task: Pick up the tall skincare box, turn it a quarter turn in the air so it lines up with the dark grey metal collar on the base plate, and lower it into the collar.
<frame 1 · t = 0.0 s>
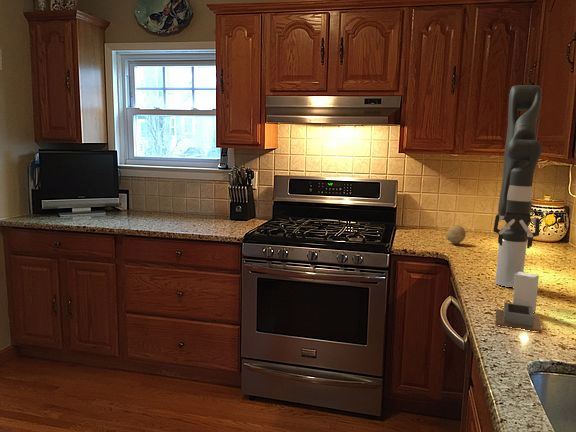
hand: (514, 246, 176), 17 cm above the countertop, tool pointing down, fingers open, 8 cm apart
collar: (517, 322, 152), on the countertop
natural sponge: (455, 244, 261), on the countertop
skincare box: (523, 312, 162), on the countertop
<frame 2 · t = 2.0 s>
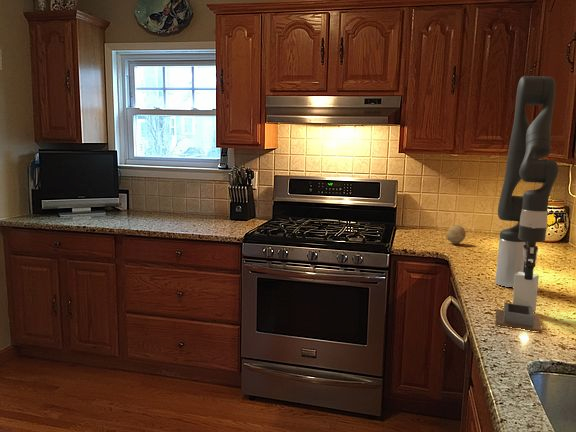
hand: (527, 276, 160), 11 cm above the countertop, tool pointing down, fingers open, 8 cm apart
nothing on the countertop moved.
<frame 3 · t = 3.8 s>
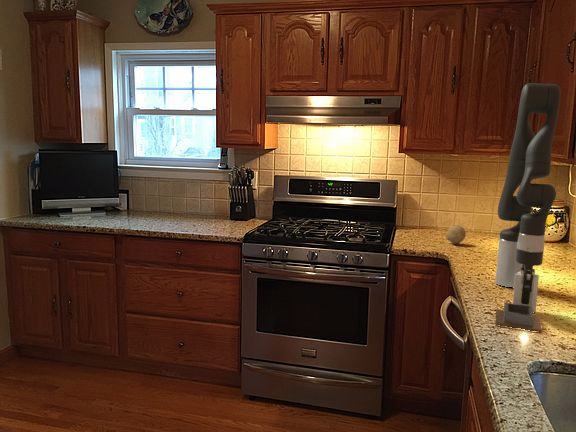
hand: (524, 300, 161), 3 cm above the countertop, tool pointing down, fingers closed on skincare box, 5 cm apart
skincare box: (523, 312, 162), on the countertop, touching gripper
everything else where it was.
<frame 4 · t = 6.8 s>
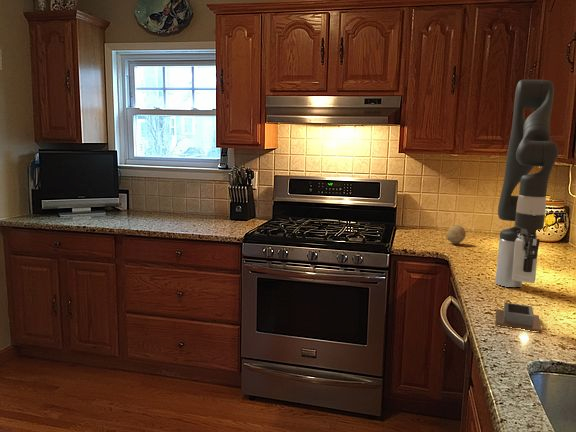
hand: (524, 268, 150), 16 cm above the countertop, tool pointing down, fingers closed on skincare box, 5 cm apart
skincare box: (522, 281, 150), point 12 cm above the countertop, touching gripper
everything else where it was.
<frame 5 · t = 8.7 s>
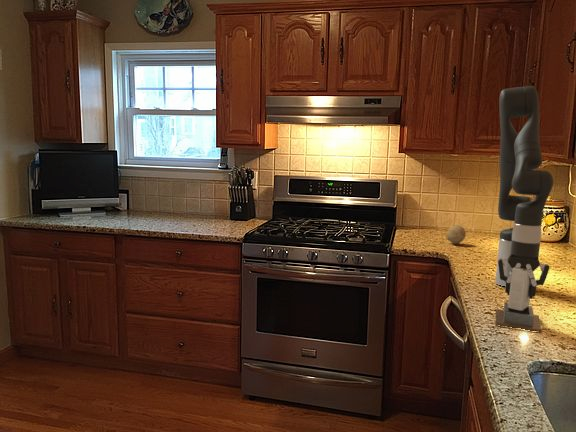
hand: (519, 295, 151), 8 cm above the countertop, tool pointing down, fingers closed on skincare box, 5 cm apart
skincare box: (518, 308, 151), point 4 cm above the countertop, touching gripper
everything else where it was.
when the fingers open (7 cm above the countertop, at t = 10.0 s): skincare box stays where it is, resting on collar.
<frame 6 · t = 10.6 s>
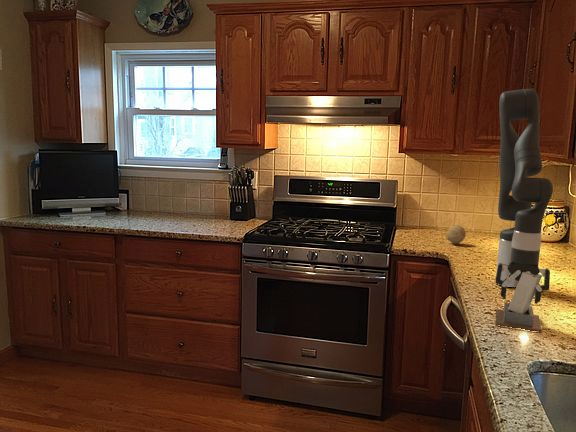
hand: (519, 300, 151), 7 cm above the countertop, tool pointing down, fingers open, 8 cm apart
skincare box: (517, 311, 152), point 3 cm above the countertop, touching collar, gripper
everything else where it was.
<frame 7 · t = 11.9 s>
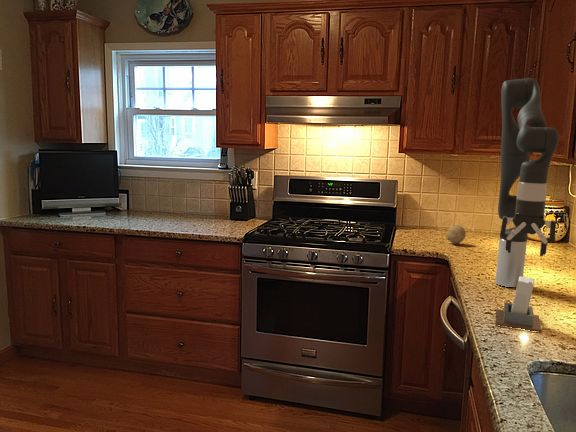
hand: (525, 254, 149), 21 cm above the countertop, tool pointing down, fingers open, 8 cm apart
skincare box: (518, 319, 152), point 1 cm above the countertop, touching collar
everything else where it was.
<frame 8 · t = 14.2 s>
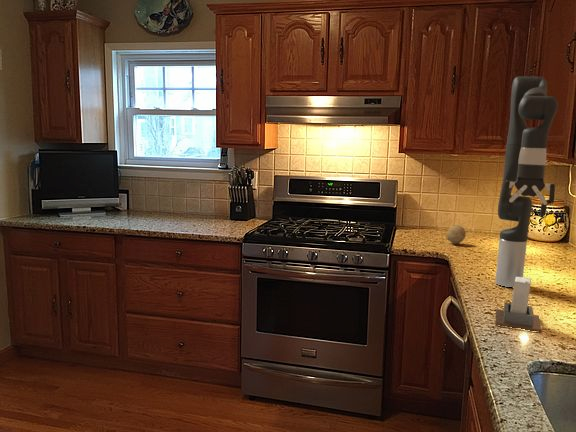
hand: (526, 215, 160), 30 cm above the countertop, tool pointing down, fingers open, 8 cm apart
nothing on the countertop moved.
at the end: skincare box 0.2 cm off-centre on the collar, point 0.8 cm above the collar's base; skincare box tilted 0°; the gripper is holding nothing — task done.
